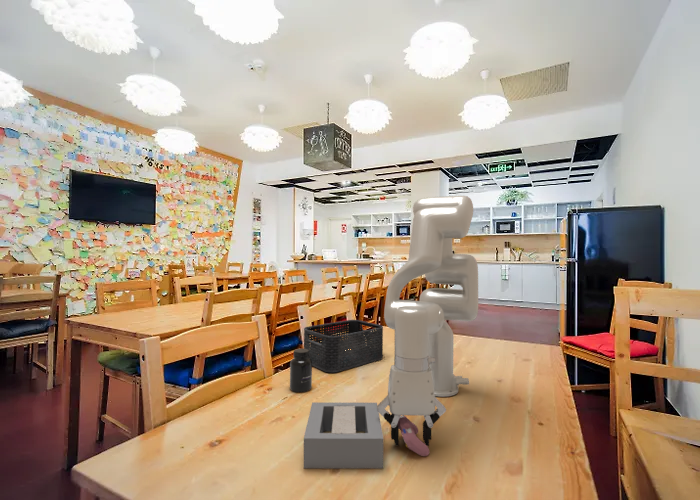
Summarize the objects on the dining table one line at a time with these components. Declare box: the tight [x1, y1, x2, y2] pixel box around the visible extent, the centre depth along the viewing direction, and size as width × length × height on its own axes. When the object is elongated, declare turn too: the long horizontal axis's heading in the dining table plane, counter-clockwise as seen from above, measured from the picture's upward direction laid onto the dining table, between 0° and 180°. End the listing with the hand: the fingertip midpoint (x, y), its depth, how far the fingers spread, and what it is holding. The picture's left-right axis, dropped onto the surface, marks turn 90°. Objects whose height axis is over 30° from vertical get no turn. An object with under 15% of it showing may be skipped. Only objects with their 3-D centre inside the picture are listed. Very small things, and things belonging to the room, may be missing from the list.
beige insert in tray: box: [331, 406, 357, 434], centre depth 77 cm, size 5×13×2 cm, turn 0°
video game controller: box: [397, 415, 430, 457], centre depth 77 cm, size 10×5×7 cm, turn 5°
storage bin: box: [303, 319, 384, 373], centre depth 135 cm, size 29×19×13 cm
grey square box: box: [303, 401, 384, 469], centre depth 77 cm, size 16×16×6 cm
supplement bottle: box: [289, 348, 313, 393], centre depth 108 cm, size 7×7×12 cm
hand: (410, 441), depth 77 cm, fingers closed on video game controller, 6 cm apart
